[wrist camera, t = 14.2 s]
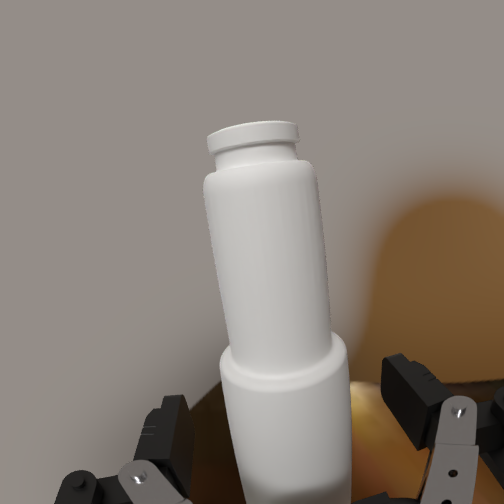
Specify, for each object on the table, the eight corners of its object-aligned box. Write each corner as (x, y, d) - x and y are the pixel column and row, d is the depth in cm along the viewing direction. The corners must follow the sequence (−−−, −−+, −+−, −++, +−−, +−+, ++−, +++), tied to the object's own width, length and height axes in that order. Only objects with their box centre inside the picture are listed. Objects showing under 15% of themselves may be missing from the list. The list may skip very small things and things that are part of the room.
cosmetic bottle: (290, 612, 8) (162, 91, 3) (237, 550, 13) (112, 163, 9) (375, 557, 11) (424, 111, 6) (315, 509, 16) (281, 143, 11)
